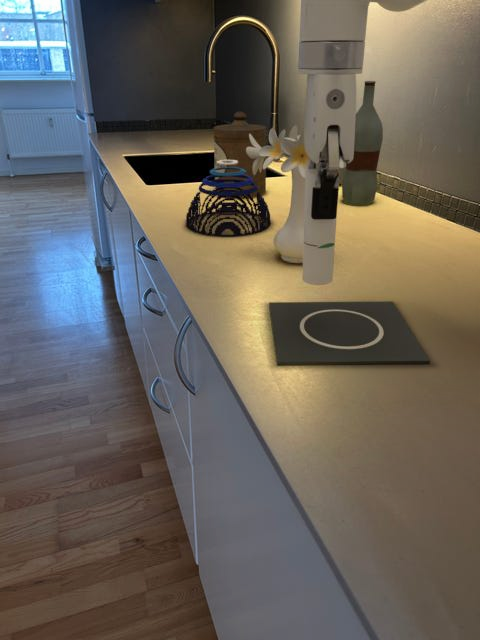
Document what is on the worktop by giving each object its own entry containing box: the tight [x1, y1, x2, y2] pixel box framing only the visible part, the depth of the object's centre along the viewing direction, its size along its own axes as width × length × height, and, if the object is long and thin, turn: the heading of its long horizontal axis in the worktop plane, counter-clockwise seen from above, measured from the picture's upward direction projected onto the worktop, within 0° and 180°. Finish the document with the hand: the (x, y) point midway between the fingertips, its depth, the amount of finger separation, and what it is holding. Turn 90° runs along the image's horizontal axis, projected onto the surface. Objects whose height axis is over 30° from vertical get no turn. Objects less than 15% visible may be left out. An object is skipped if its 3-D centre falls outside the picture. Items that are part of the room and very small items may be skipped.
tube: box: [301, 168, 338, 286], centre depth 69 cm, size 4×4×15 cm
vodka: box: [341, 80, 384, 207], centre depth 133 cm, size 9×9×30 cm
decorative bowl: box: [185, 160, 272, 238], centre depth 119 cm, size 20×20×14 cm
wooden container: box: [213, 111, 267, 199], centre depth 145 cm, size 15×15×22 cm
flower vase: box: [246, 125, 344, 264], centre depth 95 cm, size 13×18×25 cm
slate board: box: [268, 301, 431, 366], centre depth 75 cm, size 20×18×1 cm
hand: (320, 211), depth 68 cm, fingers closed on tube, 4 cm apart
